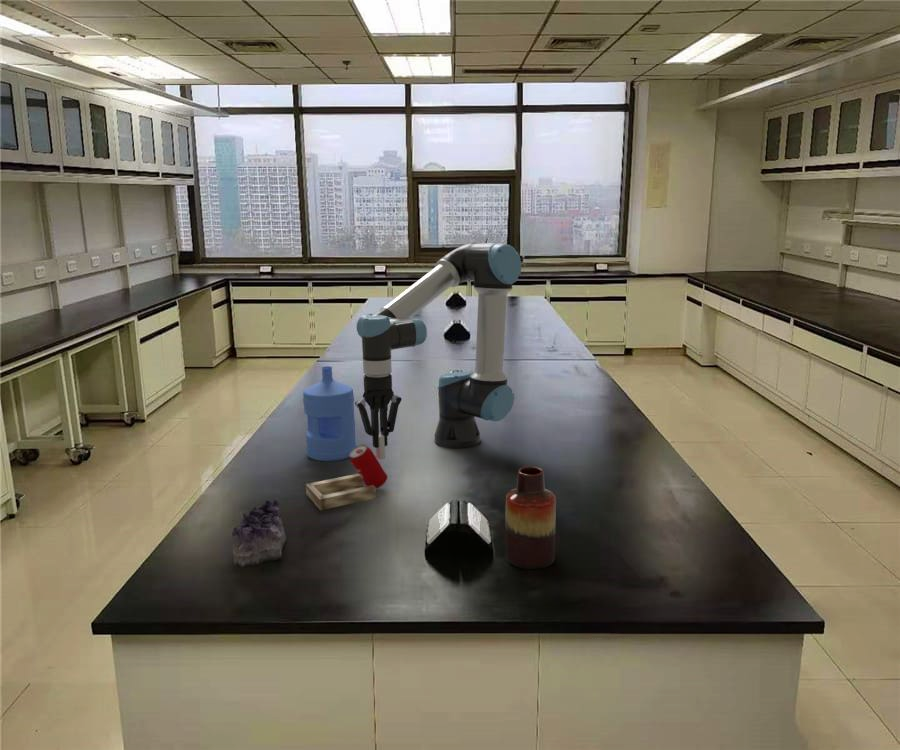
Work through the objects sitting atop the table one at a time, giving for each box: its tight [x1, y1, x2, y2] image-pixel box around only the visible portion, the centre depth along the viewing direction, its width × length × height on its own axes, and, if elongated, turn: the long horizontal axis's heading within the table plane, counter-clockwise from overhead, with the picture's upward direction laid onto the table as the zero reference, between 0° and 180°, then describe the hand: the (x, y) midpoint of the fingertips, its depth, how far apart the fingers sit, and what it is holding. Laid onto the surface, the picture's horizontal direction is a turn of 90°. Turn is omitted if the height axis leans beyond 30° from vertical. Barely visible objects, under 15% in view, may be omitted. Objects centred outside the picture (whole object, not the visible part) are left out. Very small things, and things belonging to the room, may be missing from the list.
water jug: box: [302, 365, 357, 462], centre depth 221 cm, size 16×16×28 cm
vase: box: [505, 466, 557, 570], centre depth 153 cm, size 11×11×20 cm
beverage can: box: [349, 444, 388, 490], centre depth 193 cm, size 6×6×12 cm
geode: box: [231, 499, 287, 569], centre depth 161 cm, size 20×12×10 cm, turn 7°
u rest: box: [305, 472, 377, 511], centre depth 190 cm, size 16×12×3 cm
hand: (380, 457), depth 194 cm, fingers closed
